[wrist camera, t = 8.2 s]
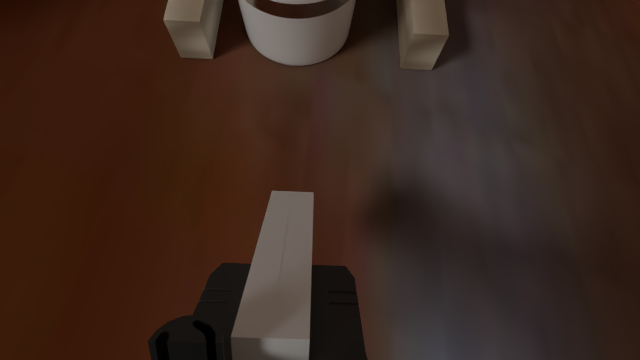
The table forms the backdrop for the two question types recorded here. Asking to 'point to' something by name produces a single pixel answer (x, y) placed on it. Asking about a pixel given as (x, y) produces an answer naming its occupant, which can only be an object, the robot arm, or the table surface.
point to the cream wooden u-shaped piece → (412, 15)
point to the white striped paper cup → (297, 28)
